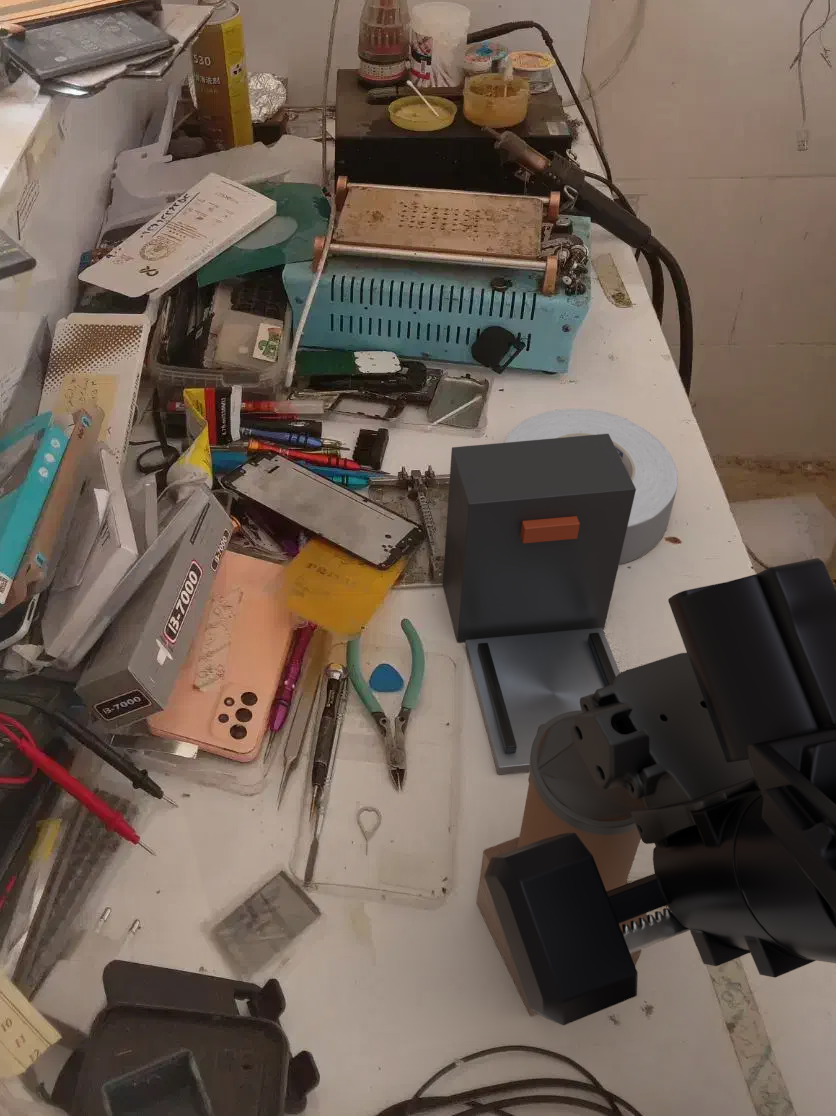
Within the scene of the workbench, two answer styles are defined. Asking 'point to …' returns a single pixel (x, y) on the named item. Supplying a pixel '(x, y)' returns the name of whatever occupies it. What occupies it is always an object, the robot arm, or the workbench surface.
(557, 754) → the carafe
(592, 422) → the tape roll
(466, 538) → the coffee maker
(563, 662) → the drip pan
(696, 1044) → the workbench surface
